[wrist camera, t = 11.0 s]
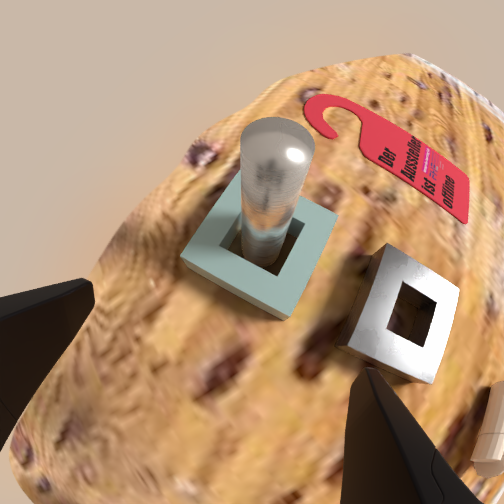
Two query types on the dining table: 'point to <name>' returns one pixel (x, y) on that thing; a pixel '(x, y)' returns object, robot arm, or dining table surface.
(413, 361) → the socket block
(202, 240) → the block
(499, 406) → the toilet paper hanger
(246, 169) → the steel pin
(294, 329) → the dining table surface
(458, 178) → the door hanger
